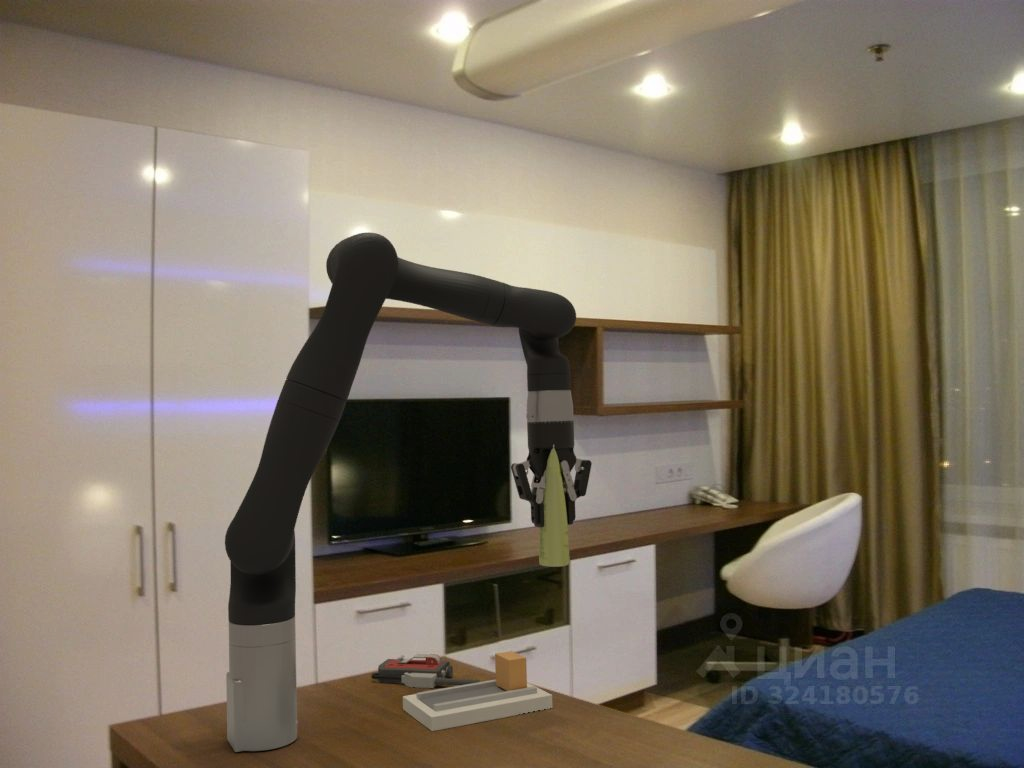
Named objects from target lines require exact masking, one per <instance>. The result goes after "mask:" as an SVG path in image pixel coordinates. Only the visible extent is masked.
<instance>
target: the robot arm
mask: <svg viewBox="0 0 1024 768" xmlns="http://www.w3.org/2000/svg"><path fill="white" fill-rule="evenodd" d="M325 267H326V274H327V277H328V279H329V281H330V283H331V287H330V291H329V294H328V298H327V299H326V300H327V301H326V304H325V305H324V309H323V311H322V314H321V316H320V319H319V320H318V322H317V324H316V326H315V327H314V328H313V330H312V332H311V334H310V335H309V336H308V338H307V340H306V341H305V343H304V344H303V346H302V347H301V349H300V350H299V353H298V354H297V356H296V357H295V360H294V361H293V362H292V365H291V366H290V369H289V370H288V371H289V372H287V376H286V380H285V381H284V383H283V386H282V389H281V391H280V393H279V397H278V399H277V402H276V403H275V404H276V405H275V408H274V410H273V414H272V418H271V420H270V423H269V427H268V429H267V432H266V433H267V434H266V437H265V441H264V444H263V448H262V452H261V455H260V460H259V463H258V465H257V466H258V467H257V468H256V471H255V474H254V477H253V478H252V481H251V483H250V485H249V487H248V489H247V491H246V493H245V495H244V497H243V500H242V502H241V503H240V506H239V507H238V509H237V510H236V513H235V515H234V516H233V518H232V519H231V521H230V523H229V525H228V527H227V530H226V532H225V536H224V537H225V538H224V548H225V552H226V555H227V557H228V560H229V561H230V563H229V564H230V583H229V584H230V585H229V598H228V605H227V607H228V608H227V611H228V614H227V616H228V664H229V665H228V668H229V670H228V672H227V673H226V679H225V681H226V682H225V683H226V737H227V738H226V739H227V742H228V744H229V746H230V747H231V748H232V750H233V751H234V753H238V752H261V751H269V750H275V749H278V748H283V747H285V746H288V745H289V744H292V743H293V742H294V741H296V740H297V738H298V705H297V704H298V700H297V698H298V695H297V687H298V686H297V650H296V649H297V648H296V647H297V646H296V645H297V643H296V641H297V640H296V639H297V638H296V637H297V636H296V635H297V634H296V595H297V593H296V588H297V584H296V582H297V581H296V579H297V576H296V575H297V573H296V572H297V571H296V565H297V563H296V535H295V534H296V532H295V531H296V530H295V529H296V524H297V520H298V516H299V513H300V509H301V506H302V503H303V500H304V499H303V498H304V496H305V493H306V490H307V488H308V485H309V483H310V481H311V479H312V477H313V476H314V474H315V471H316V469H317V468H318V466H319V464H320V462H321V460H322V459H323V457H324V454H325V453H326V451H327V449H328V448H329V445H330V442H331V441H332V439H333V437H334V435H335V432H336V430H337V428H338V425H339V423H340V421H341V418H342V416H343V412H344V410H345V407H346V404H347V401H348V399H349V396H350V394H351V393H350V392H351V390H352V387H353V384H354V381H355V378H356V376H357V375H356V374H357V372H358V370H359V366H360V363H361V360H362V357H363V354H364V350H365V348H366V344H367V341H368V339H369V338H368V337H369V335H370V333H371V331H372V328H373V326H374V324H375V321H376V319H377V317H378V315H379V313H380V311H381V309H382V307H383V305H384V303H385V302H386V300H394V301H398V302H399V301H400V302H404V303H409V304H414V305H419V306H421V307H426V308H430V309H433V310H437V311H439V312H443V313H446V314H450V315H453V316H456V317H460V318H463V319H466V320H469V321H473V322H478V323H481V324H485V325H489V326H491V327H497V328H511V327H513V328H518V334H519V341H520V344H521V348H522V353H523V357H524V360H525V364H526V380H527V381H526V383H527V385H526V387H527V399H526V416H525V417H526V425H527V426H526V428H527V429H526V430H527V431H526V432H527V435H526V436H527V449H528V454H527V458H526V460H524V461H522V462H519V463H512V464H511V466H510V469H511V472H512V475H513V476H512V477H513V480H514V483H515V484H514V485H515V488H516V489H517V495H518V498H519V499H521V500H524V501H525V502H526V501H527V502H529V504H530V521H531V523H532V524H533V525H534V527H536V528H539V527H544V504H541V503H542V501H543V497H544V491H545V489H546V482H545V481H546V471H547V460H548V457H549V455H550V452H551V450H552V449H553V445H554V449H555V451H556V453H557V456H558V460H559V465H560V470H561V476H562V482H563V488H564V495H565V503H566V512H567V524H568V526H570V525H573V523H574V521H575V520H576V500H577V499H578V498H581V497H585V496H586V494H587V490H588V486H589V485H588V484H589V480H590V475H591V471H592V470H591V469H592V464H593V463H592V461H591V460H589V459H580V458H577V456H576V454H575V451H574V447H575V428H574V427H575V426H574V425H575V423H574V420H575V419H574V402H573V398H572V386H571V385H572V382H571V381H572V380H571V365H570V360H569V359H568V357H566V355H563V354H561V353H560V347H559V342H558V339H559V338H561V337H563V336H565V335H567V334H569V333H570V332H571V331H572V329H574V327H575V325H576V321H577V313H576V309H575V306H574V305H573V303H572V302H571V301H570V300H569V299H568V298H567V297H565V296H563V295H561V294H559V293H557V292H554V291H549V290H544V289H537V288H531V287H523V286H521V287H519V286H514V285H510V284H508V283H505V282H502V281H499V280H495V279H492V278H488V277H485V276H481V275H477V274H473V273H470V272H468V273H467V272H463V271H458V270H452V269H444V268H438V267H433V266H429V265H424V264H420V263H415V262H413V261H410V260H407V259H403V258H402V257H399V256H398V254H397V250H396V248H395V247H394V245H393V243H392V241H390V240H389V238H387V237H386V236H384V235H382V234H380V233H377V232H360V233H356V234H353V235H351V236H348V237H346V238H344V239H342V240H341V241H339V242H338V243H336V244H335V245H334V246H333V248H332V249H331V250H330V252H329V253H328V256H327V258H326V264H325ZM573 469H574V471H575V475H574V480H573V478H572V475H571V472H572V470H573ZM529 470H530V471H531V472H532V474H533V476H532V480H531V484H530V483H529V479H528V474H529Z"/></svg>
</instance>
